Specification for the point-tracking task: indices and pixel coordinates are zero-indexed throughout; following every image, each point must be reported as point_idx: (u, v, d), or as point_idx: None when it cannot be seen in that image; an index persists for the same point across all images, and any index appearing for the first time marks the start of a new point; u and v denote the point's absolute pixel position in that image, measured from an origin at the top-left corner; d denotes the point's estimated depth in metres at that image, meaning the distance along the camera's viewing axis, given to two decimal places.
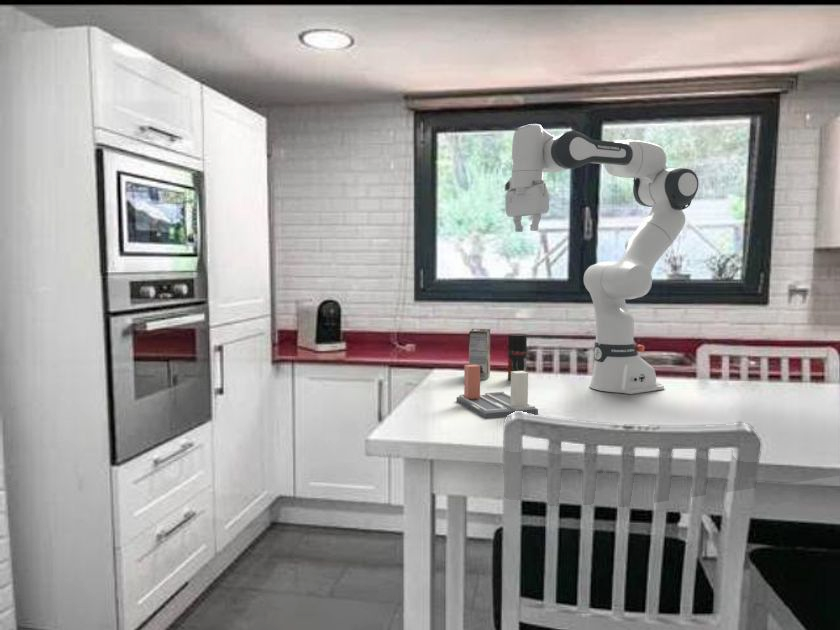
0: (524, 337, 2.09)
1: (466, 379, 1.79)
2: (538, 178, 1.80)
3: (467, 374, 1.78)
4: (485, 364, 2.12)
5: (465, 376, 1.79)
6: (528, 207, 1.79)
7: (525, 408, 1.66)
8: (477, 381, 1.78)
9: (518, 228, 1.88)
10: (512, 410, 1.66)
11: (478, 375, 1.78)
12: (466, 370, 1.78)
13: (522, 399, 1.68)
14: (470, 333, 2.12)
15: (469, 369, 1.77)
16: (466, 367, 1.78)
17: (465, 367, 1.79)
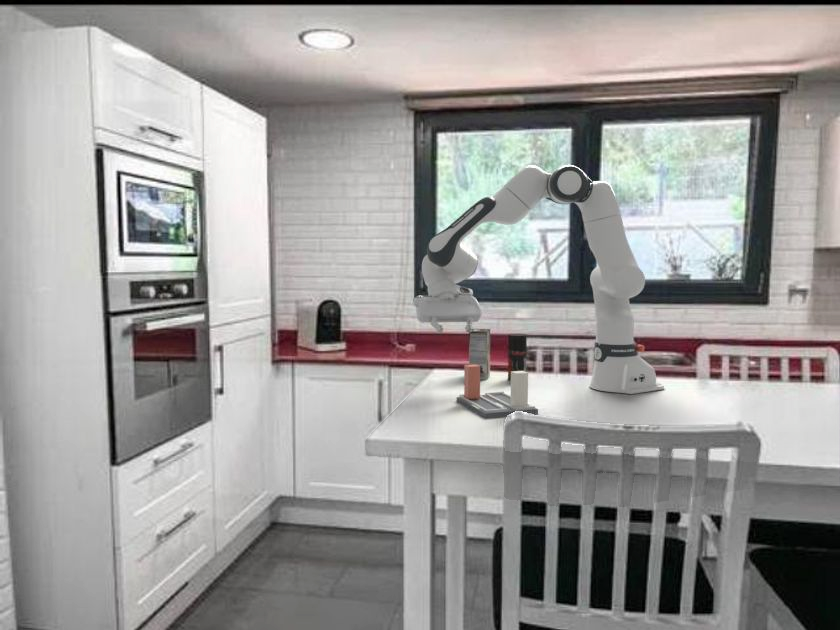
0: (524, 337, 2.09)
1: (466, 379, 1.79)
2: (431, 291, 1.96)
3: (467, 374, 1.78)
4: (485, 364, 2.12)
5: (465, 376, 1.79)
6: None
7: (525, 408, 1.66)
8: (477, 381, 1.78)
9: (466, 329, 1.92)
10: (512, 410, 1.66)
11: (478, 375, 1.78)
12: (466, 370, 1.78)
13: (522, 399, 1.68)
14: (470, 333, 2.12)
15: (469, 369, 1.77)
16: (466, 367, 1.78)
17: (465, 367, 1.79)
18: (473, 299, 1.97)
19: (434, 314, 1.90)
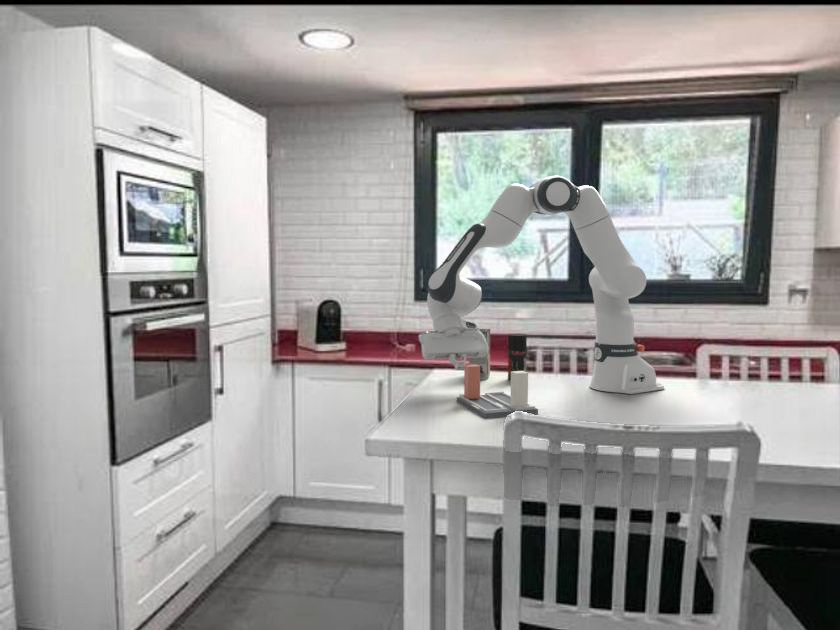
0: (524, 337, 2.09)
1: (466, 379, 1.79)
2: (437, 326, 1.93)
3: (467, 374, 1.78)
4: (485, 364, 2.12)
5: (465, 376, 1.79)
6: None
7: (525, 408, 1.66)
8: (477, 381, 1.78)
9: None
10: (512, 410, 1.66)
11: (478, 375, 1.78)
12: (466, 370, 1.78)
13: (522, 399, 1.68)
14: None
15: (469, 369, 1.77)
16: (466, 367, 1.78)
17: (465, 367, 1.79)
18: (479, 334, 1.93)
19: (439, 351, 1.86)
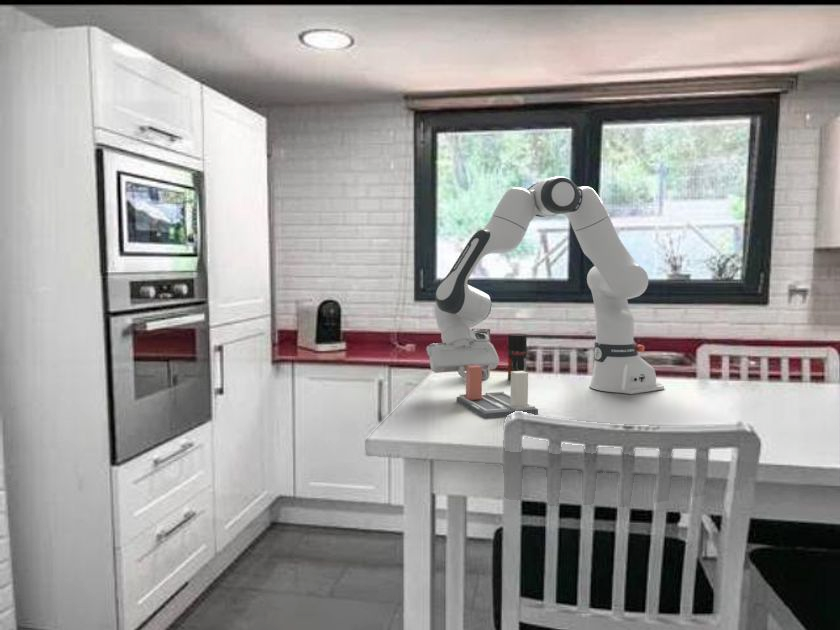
0: (524, 337, 2.09)
1: (467, 380, 1.77)
2: (445, 338, 1.86)
3: (469, 375, 1.76)
4: None
5: (467, 377, 1.78)
6: None
7: (525, 408, 1.66)
8: (479, 381, 1.77)
9: None
10: (512, 410, 1.66)
11: (480, 376, 1.77)
12: (468, 370, 1.77)
13: (522, 399, 1.68)
14: None
15: (471, 370, 1.76)
16: (468, 368, 1.77)
17: (467, 368, 1.78)
18: (489, 345, 1.87)
19: (448, 364, 1.80)
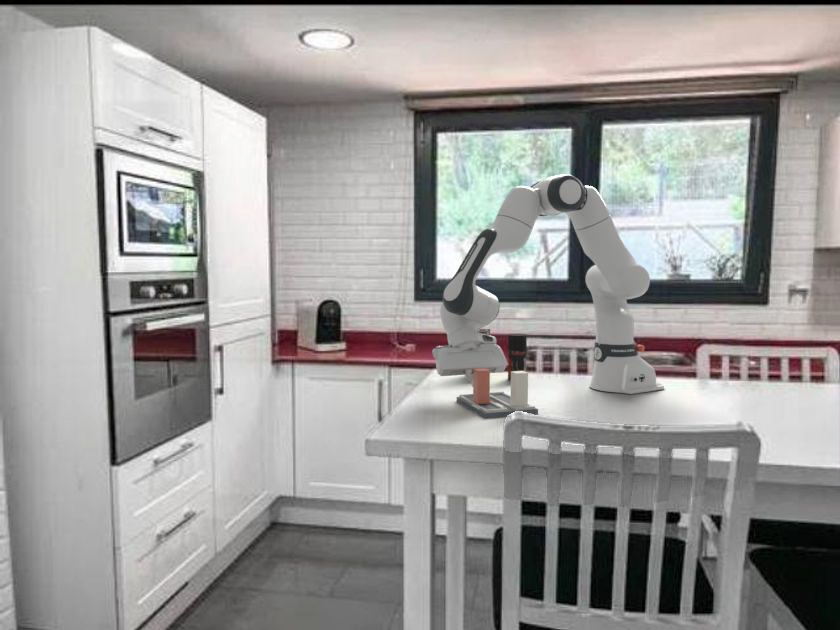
0: (524, 337, 2.09)
1: (475, 384, 1.73)
2: (452, 340, 1.81)
3: (476, 378, 1.71)
4: None
5: (474, 380, 1.73)
6: None
7: (525, 408, 1.66)
8: (486, 385, 1.72)
9: None
10: (512, 410, 1.66)
11: (488, 379, 1.72)
12: (475, 374, 1.72)
13: (522, 399, 1.68)
14: None
15: (478, 374, 1.71)
16: (475, 371, 1.72)
17: (474, 371, 1.73)
18: (497, 348, 1.82)
19: (455, 367, 1.75)
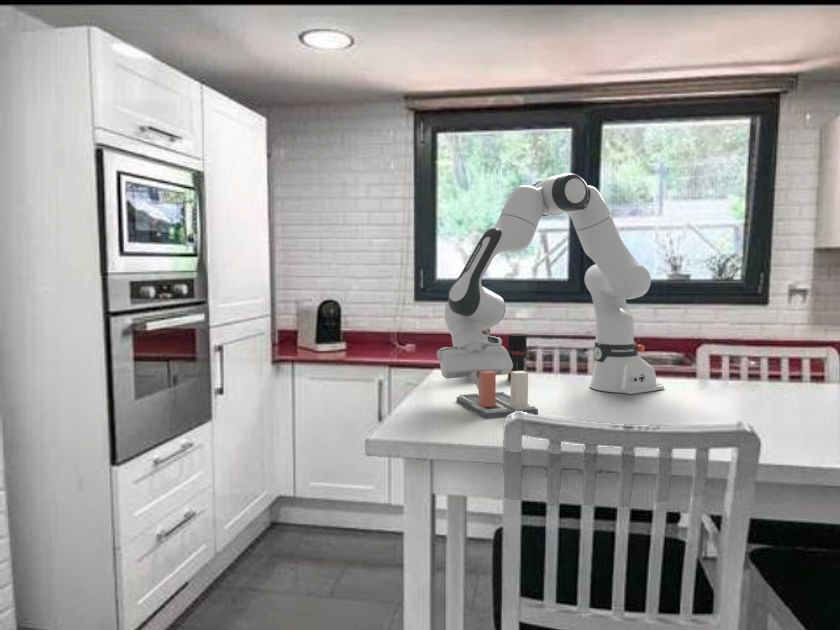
0: (524, 337, 2.09)
1: (480, 386, 1.69)
2: (456, 342, 1.78)
3: (482, 381, 1.68)
4: None
5: (480, 383, 1.69)
6: None
7: (525, 408, 1.66)
8: (492, 388, 1.68)
9: None
10: (512, 410, 1.66)
11: (493, 382, 1.68)
12: (480, 376, 1.69)
13: (522, 399, 1.68)
14: None
15: (484, 376, 1.67)
16: (481, 373, 1.68)
17: (480, 373, 1.69)
18: (503, 349, 1.78)
19: (460, 369, 1.71)
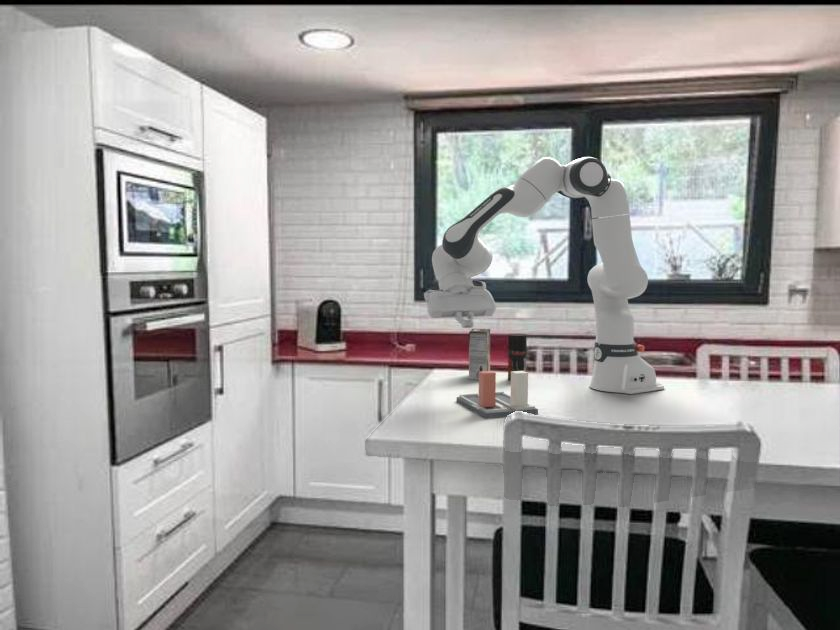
0: (524, 337, 2.09)
1: (480, 386, 1.69)
2: (443, 285, 1.87)
3: (482, 381, 1.68)
4: (485, 364, 2.12)
5: (480, 383, 1.69)
6: None
7: (525, 408, 1.66)
8: (492, 388, 1.68)
9: None
10: (512, 410, 1.66)
11: (493, 382, 1.68)
12: (480, 376, 1.69)
13: (522, 399, 1.68)
14: (470, 333, 2.12)
15: (484, 376, 1.67)
16: (481, 374, 1.68)
17: (480, 373, 1.69)
18: (486, 292, 1.88)
19: (446, 309, 1.81)
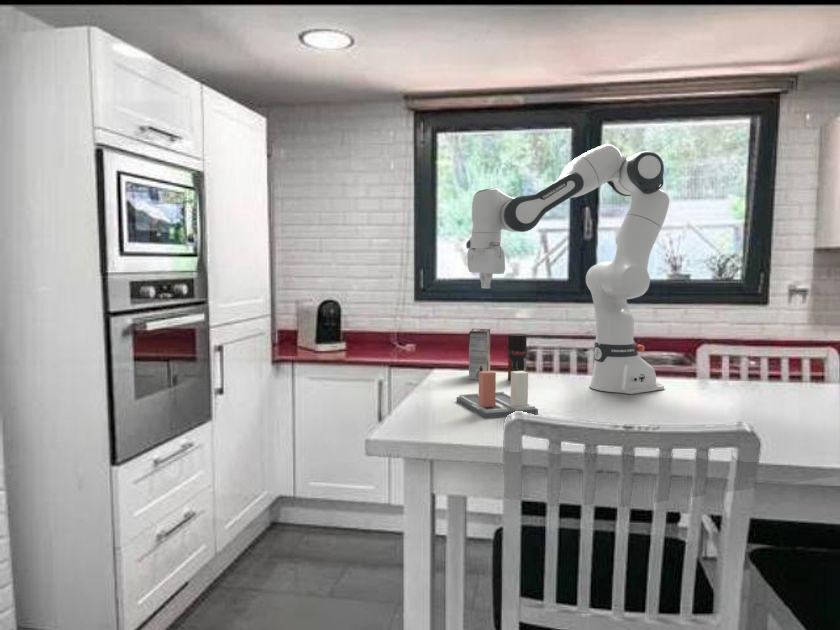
0: (524, 337, 2.09)
1: (480, 386, 1.69)
2: (496, 239, 1.90)
3: (482, 381, 1.68)
4: (485, 364, 2.12)
5: (480, 383, 1.69)
6: (486, 267, 1.90)
7: (525, 408, 1.66)
8: (492, 388, 1.68)
9: None
10: (512, 410, 1.66)
11: (493, 382, 1.68)
12: (480, 376, 1.69)
13: (522, 399, 1.68)
14: (470, 333, 2.12)
15: (484, 376, 1.67)
16: (481, 374, 1.68)
17: (480, 373, 1.69)
18: None
19: None
